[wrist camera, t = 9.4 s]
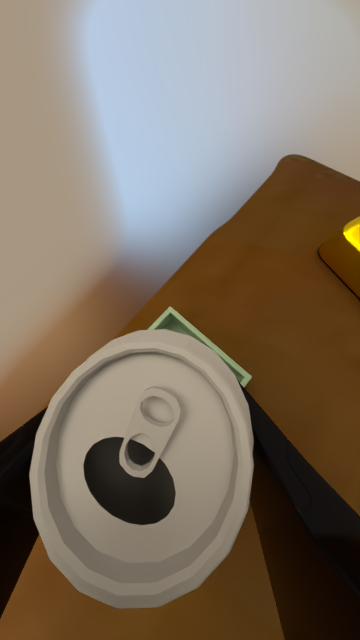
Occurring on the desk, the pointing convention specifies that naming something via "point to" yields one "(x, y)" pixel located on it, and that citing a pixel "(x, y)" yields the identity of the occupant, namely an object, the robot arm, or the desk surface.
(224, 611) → the desk surface
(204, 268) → the desk surface
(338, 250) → the element tile
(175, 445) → the can
